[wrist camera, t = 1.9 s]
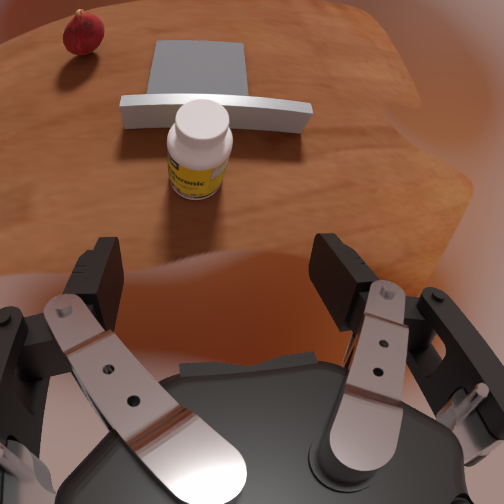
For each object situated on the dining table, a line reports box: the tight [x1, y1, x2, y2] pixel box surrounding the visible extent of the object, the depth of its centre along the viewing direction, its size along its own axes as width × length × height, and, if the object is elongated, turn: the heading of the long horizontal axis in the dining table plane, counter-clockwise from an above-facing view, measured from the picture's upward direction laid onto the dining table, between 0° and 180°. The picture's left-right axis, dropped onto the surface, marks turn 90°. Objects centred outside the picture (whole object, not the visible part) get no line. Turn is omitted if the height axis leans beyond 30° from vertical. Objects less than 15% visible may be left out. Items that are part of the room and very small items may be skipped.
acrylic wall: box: [119, 94, 313, 134], centre depth 30 cm, size 20×2×4 cm, turn 94°
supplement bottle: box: [167, 99, 233, 200], centre depth 25 cm, size 5×5×10 cm
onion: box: [63, 9, 104, 55], centre depth 27 cm, size 6×6×8 cm
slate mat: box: [147, 40, 248, 96], centre depth 33 cm, size 12×12×1 cm
